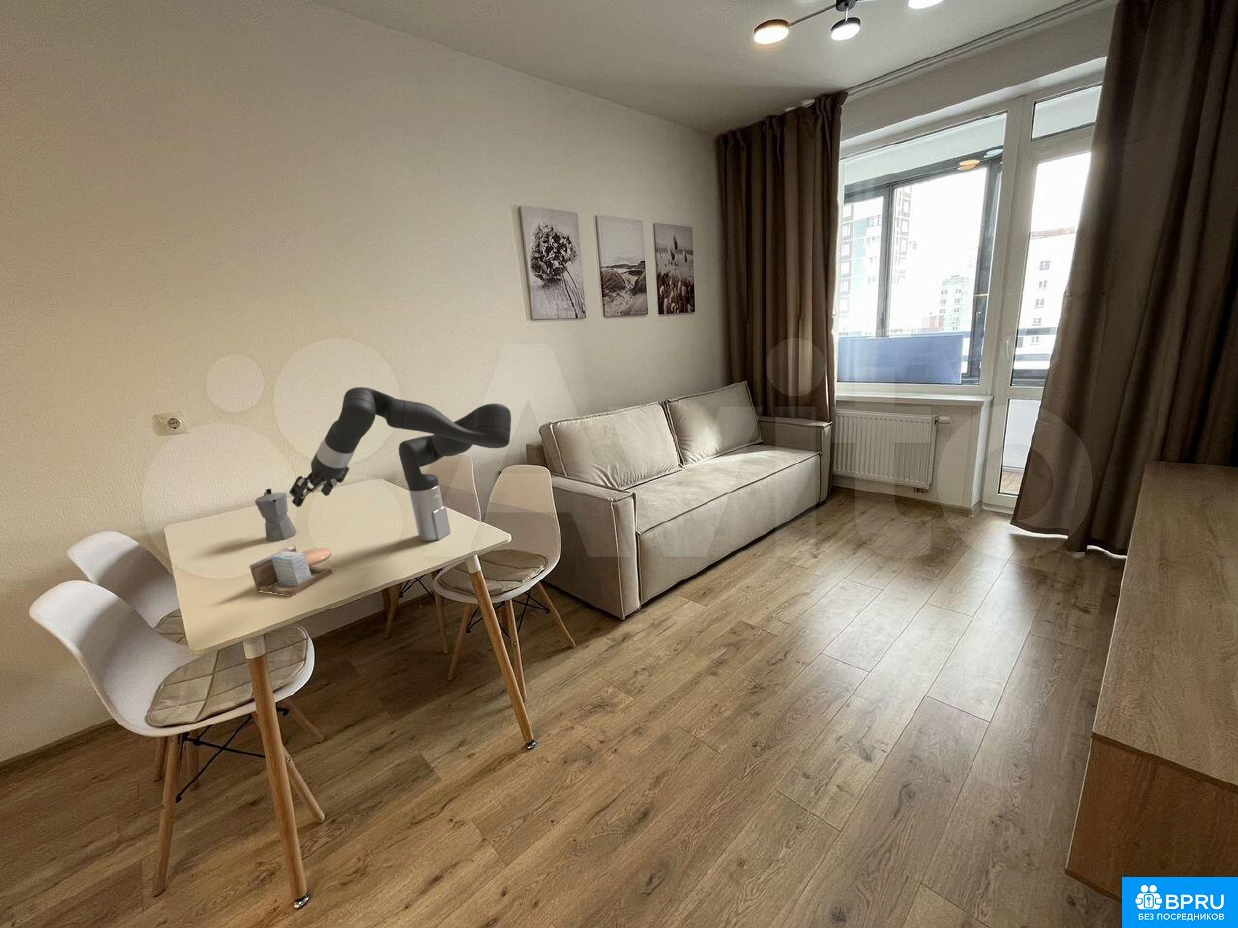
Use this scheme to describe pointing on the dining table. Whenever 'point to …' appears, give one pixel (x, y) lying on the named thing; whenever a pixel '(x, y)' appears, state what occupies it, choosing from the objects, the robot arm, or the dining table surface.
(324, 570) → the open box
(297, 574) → the medicine box
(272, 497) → the coffeepot
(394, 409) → the robot arm
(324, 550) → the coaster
